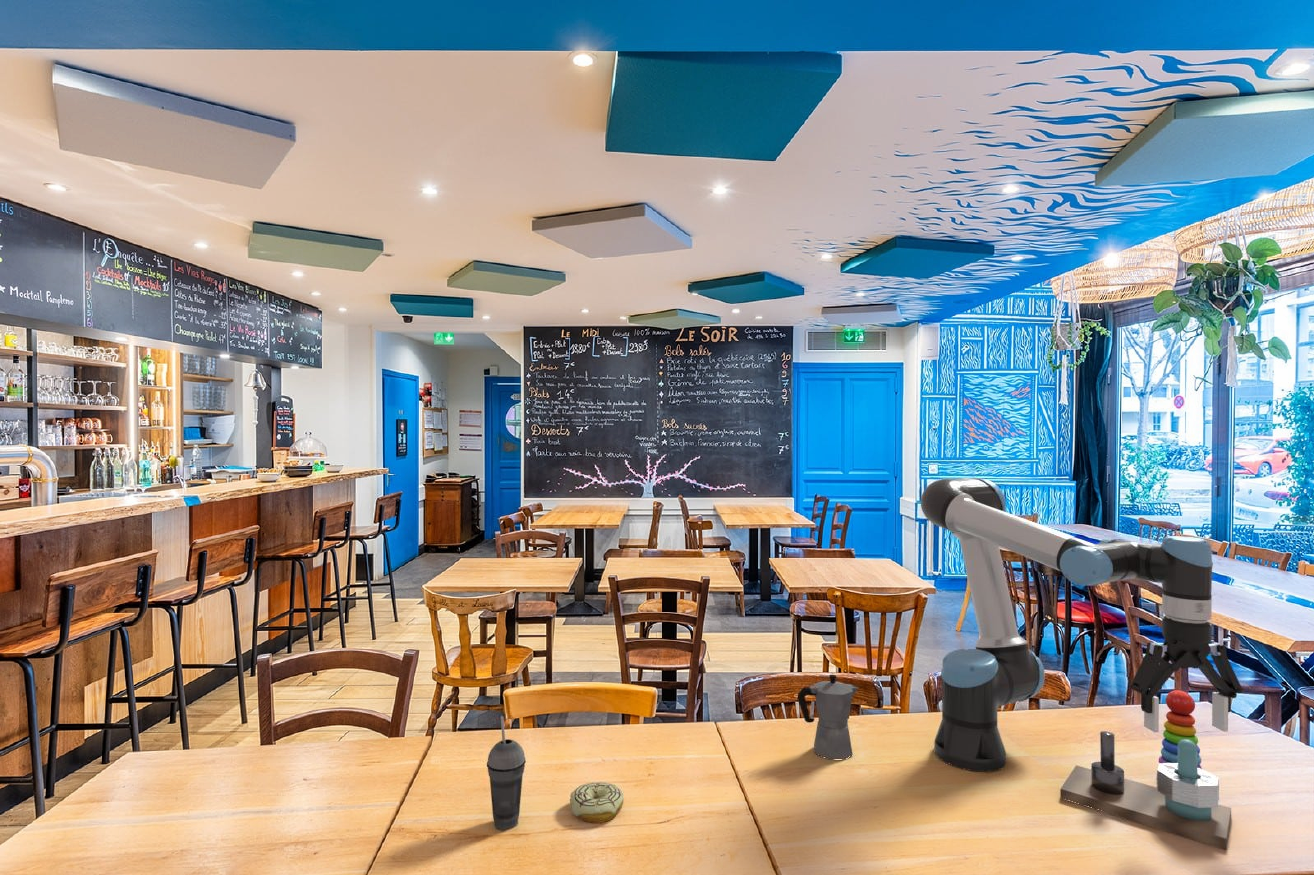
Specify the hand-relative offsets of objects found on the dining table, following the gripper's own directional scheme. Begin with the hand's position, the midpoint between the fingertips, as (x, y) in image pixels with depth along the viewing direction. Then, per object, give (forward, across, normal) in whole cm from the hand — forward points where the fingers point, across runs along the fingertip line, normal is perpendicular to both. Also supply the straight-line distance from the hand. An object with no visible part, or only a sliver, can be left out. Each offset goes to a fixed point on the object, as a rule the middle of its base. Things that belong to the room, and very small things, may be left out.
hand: (1185, 729), depth 131 cm
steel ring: (+12, 0, 0) cm, 12 cm away
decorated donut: (+19, -113, +8) cm, 115 cm away
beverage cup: (+18, -130, +4) cm, 131 cm away
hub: (+15, 0, 0) cm, 15 cm away
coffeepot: (+18, -60, +31) cm, 70 cm away
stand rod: (+16, -9, +9) cm, 20 cm away
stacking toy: (+18, +12, +16) cm, 27 cm away
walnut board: (+18, -5, +4) cm, 19 cm away
